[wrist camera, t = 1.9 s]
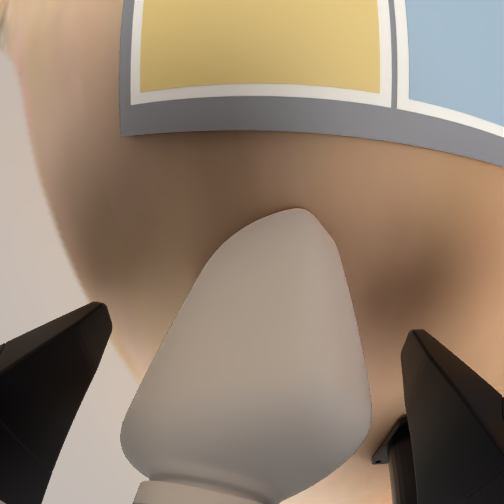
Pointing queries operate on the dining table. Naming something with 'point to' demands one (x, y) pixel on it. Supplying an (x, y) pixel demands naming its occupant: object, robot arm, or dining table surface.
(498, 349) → the dining table surface
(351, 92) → the grey flat rectangular board
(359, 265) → the dining table surface
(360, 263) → the dining table surface
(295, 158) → the dining table surface
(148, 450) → the eye dropper bottle
